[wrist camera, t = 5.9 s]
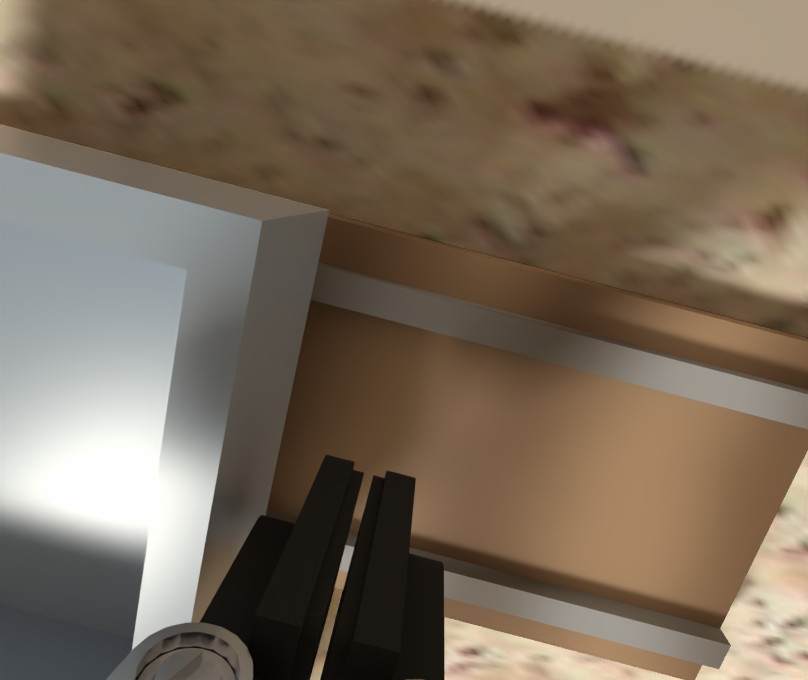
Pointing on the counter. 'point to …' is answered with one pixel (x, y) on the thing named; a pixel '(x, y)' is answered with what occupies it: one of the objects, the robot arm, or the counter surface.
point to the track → (549, 440)
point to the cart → (134, 392)
